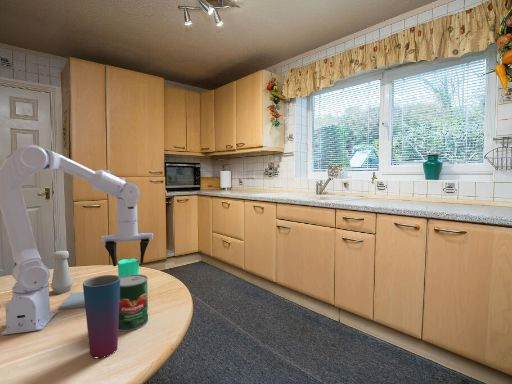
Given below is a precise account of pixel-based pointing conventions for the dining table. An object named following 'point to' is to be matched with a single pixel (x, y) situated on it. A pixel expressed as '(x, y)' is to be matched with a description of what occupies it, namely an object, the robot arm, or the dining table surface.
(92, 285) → the cup
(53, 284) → the salt shaker
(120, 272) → the candle
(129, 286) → the canned tomato
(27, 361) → the dining table surface
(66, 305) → the mat
